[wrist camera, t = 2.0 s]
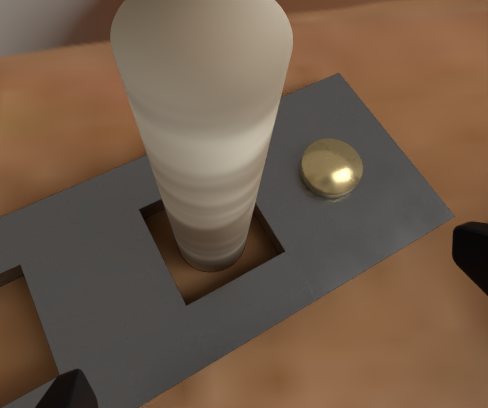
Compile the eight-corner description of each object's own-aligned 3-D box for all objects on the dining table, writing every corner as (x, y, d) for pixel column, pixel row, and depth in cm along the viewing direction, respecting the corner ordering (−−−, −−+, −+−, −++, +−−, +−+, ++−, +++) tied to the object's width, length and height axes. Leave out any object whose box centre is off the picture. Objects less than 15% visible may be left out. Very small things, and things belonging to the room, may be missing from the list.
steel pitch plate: (332, 87, 27) (342, 64, 25) (441, 225, 23) (463, 211, 21) (-139, 293, 20) (-182, 285, 17) (-89, 544, 16) (-136, 572, 14)
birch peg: (228, 283, 21) (250, 135, 7) (165, 254, 21) (72, 63, 8) (255, 223, 23) (317, 6, 9) (196, 197, 23) (166, -49, 9)
